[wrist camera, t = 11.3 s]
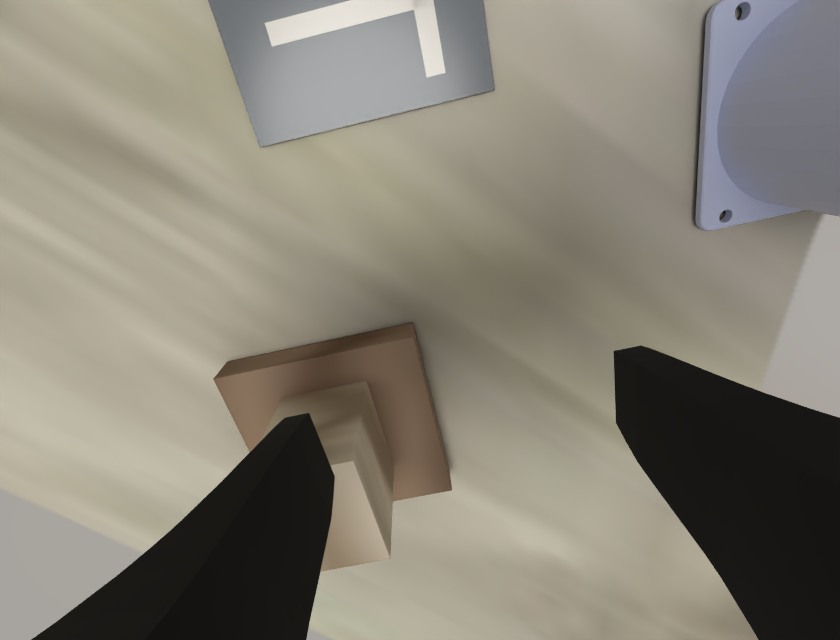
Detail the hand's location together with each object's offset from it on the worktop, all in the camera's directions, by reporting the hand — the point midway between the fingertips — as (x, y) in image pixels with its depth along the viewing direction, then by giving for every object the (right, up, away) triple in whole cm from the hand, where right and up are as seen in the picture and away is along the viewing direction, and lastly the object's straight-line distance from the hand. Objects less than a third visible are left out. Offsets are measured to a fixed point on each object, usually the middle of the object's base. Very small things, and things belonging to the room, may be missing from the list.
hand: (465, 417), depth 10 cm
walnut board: (-5, -3, +11) cm, 13 cm away
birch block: (-5, -3, +10) cm, 11 cm away
